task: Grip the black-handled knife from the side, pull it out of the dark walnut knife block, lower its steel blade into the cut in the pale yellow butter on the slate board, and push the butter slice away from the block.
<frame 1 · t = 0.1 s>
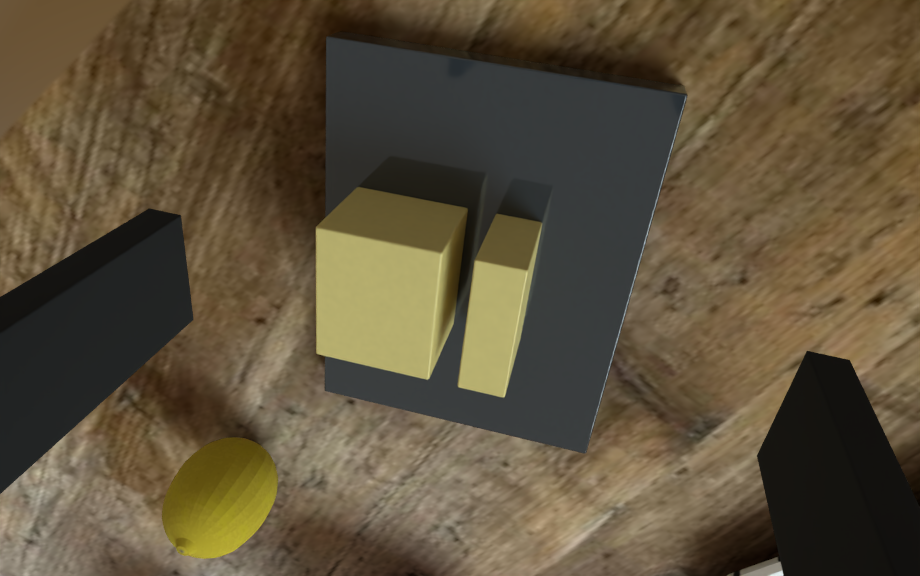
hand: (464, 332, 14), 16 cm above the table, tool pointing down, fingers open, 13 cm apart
butter: (407, 257, 30), point 1 cm above the table, touching board
butter slice: (508, 278, 29), point 1 cm above the table, touching board
board: (478, 256, 30), on the table
lemon: (259, 443, 40), on the table
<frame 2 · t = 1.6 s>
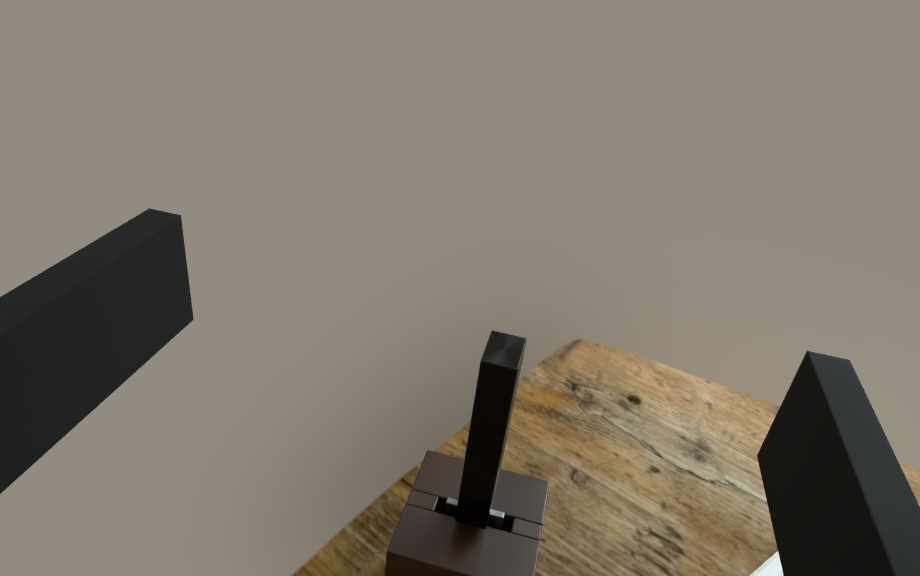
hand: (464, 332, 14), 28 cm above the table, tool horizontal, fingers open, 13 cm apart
knife: (476, 503, 33), in the knife block
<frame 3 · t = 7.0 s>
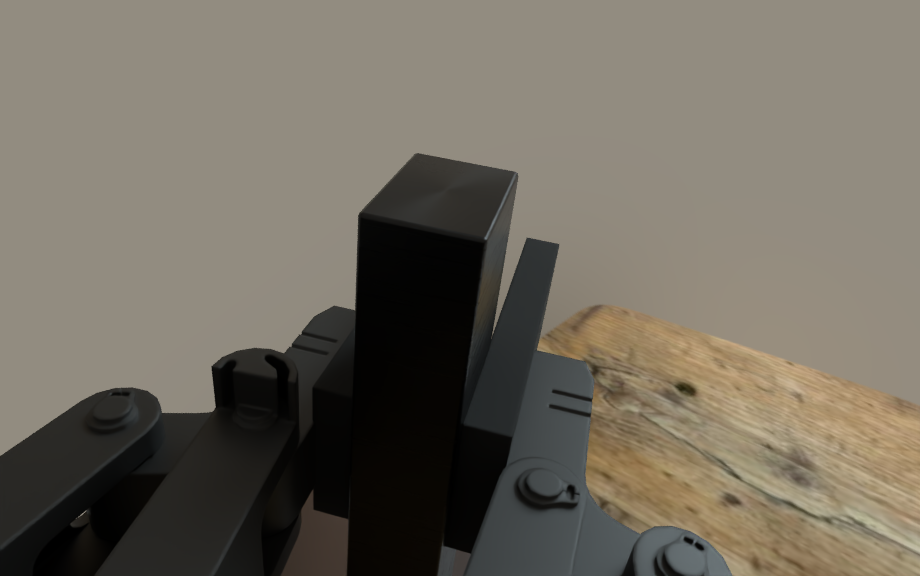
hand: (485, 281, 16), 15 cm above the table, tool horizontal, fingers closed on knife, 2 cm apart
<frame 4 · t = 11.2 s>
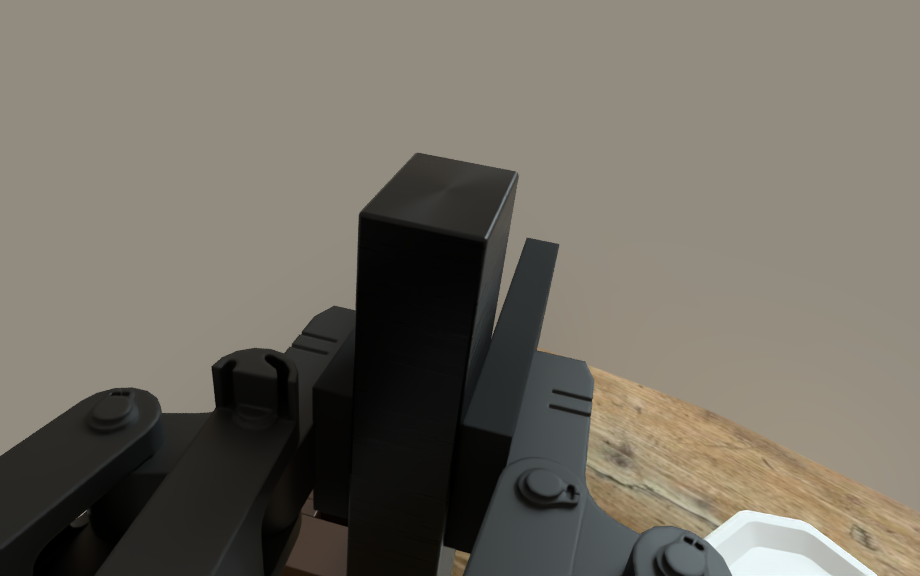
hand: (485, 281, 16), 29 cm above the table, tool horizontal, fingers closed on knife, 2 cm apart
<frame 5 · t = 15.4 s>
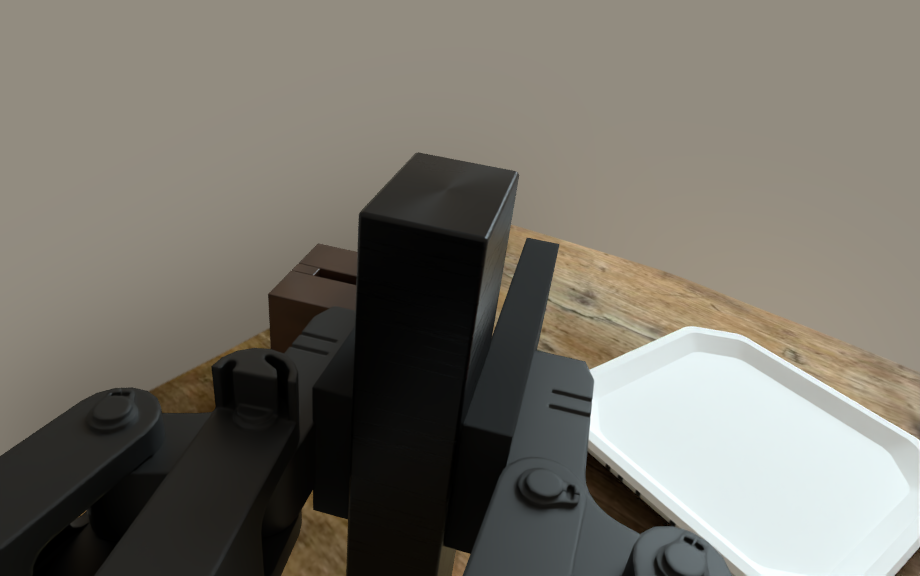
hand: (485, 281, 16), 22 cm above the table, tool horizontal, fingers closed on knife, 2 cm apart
plate: (739, 459, 44), on the table
knife block: (344, 389, 45), on the table
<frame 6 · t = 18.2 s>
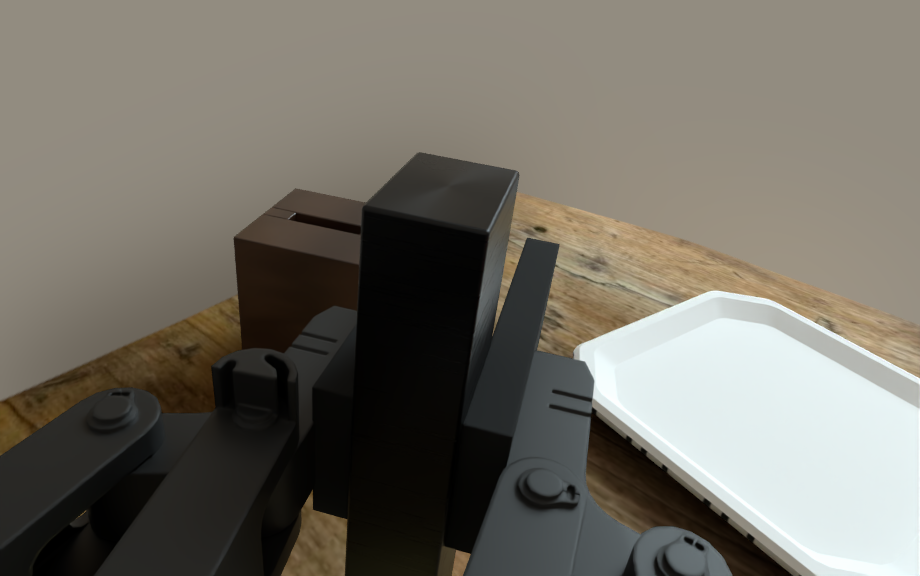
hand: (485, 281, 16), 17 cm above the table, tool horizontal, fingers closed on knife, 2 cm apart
plate: (776, 433, 38), on the table
knife block: (326, 356, 40), on the table
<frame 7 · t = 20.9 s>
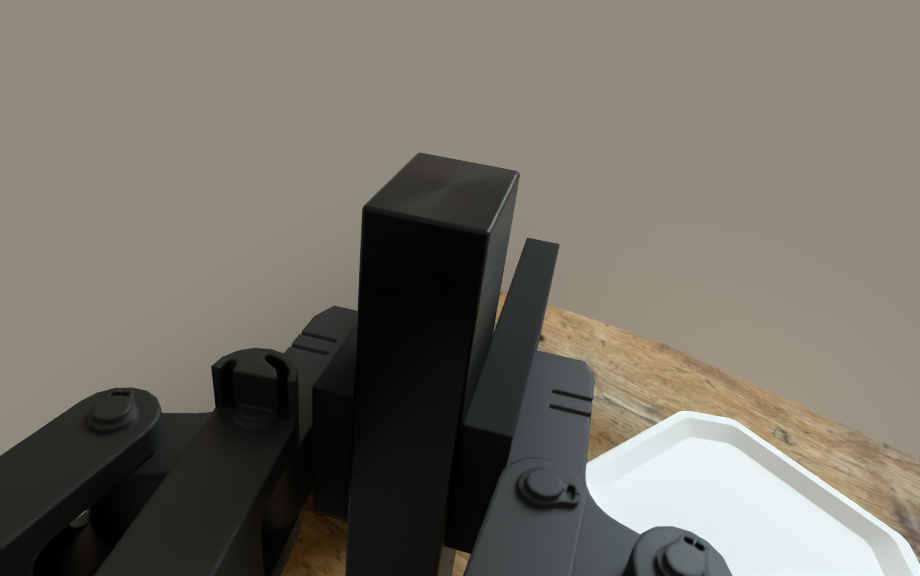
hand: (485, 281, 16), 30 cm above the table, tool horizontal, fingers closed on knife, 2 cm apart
plate: (729, 551, 47), on the table
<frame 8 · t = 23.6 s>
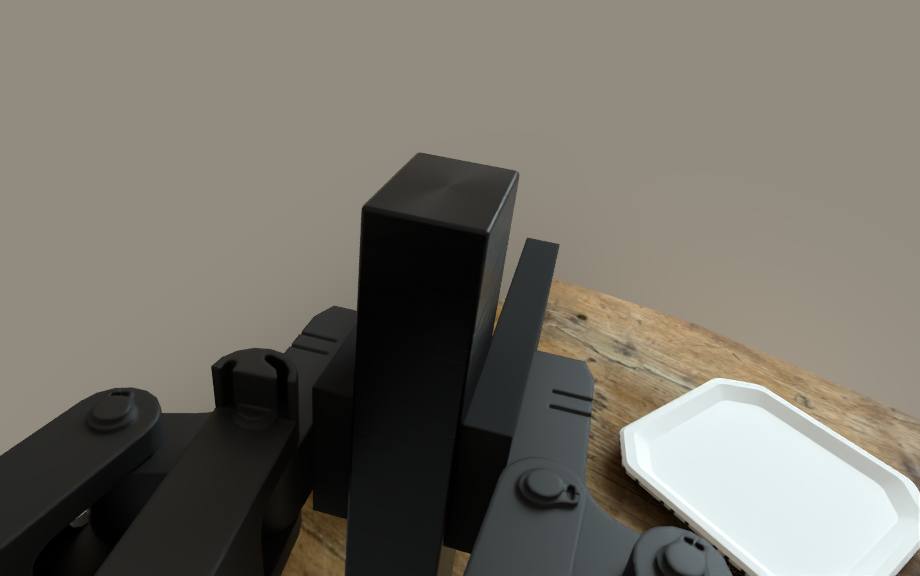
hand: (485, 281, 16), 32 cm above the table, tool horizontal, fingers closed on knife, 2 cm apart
plate: (762, 493, 55), on the table
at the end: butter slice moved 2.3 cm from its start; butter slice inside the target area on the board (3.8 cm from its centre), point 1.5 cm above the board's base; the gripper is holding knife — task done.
